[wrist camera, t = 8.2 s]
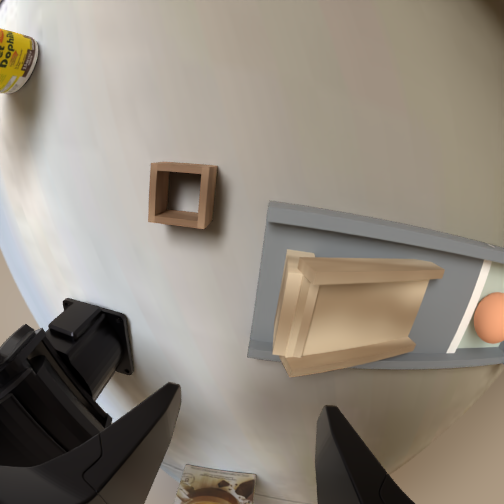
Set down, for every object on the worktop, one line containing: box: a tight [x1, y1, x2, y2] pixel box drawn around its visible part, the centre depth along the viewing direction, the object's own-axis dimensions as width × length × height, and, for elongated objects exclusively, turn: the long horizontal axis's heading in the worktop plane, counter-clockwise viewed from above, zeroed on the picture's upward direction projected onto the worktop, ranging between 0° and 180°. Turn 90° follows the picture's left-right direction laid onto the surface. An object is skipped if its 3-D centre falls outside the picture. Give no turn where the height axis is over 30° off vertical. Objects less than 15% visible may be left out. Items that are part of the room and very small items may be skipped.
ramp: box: [272, 249, 445, 377], centre depth 16 cm, size 6×10×6 cm, turn 83°
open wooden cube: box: [148, 162, 217, 229], centre depth 16 cm, size 3×3×2 cm
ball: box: [474, 292, 504, 344], centre depth 15 cm, size 4×4×4 cm
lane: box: [247, 201, 504, 369], centre depth 16 cm, size 10×25×4 cm, turn 83°
